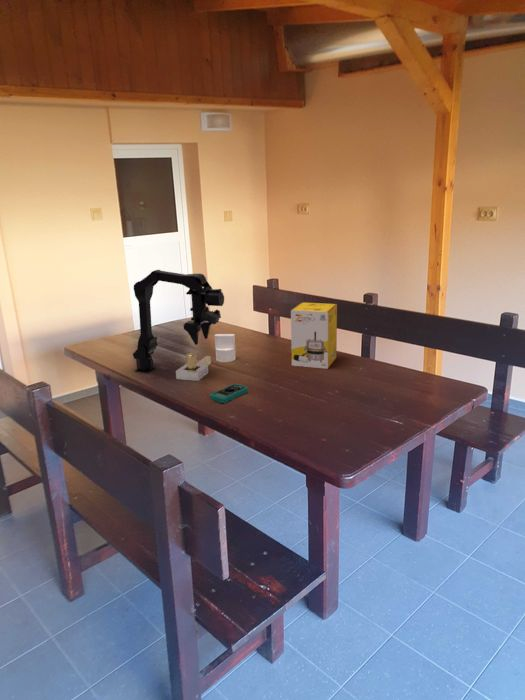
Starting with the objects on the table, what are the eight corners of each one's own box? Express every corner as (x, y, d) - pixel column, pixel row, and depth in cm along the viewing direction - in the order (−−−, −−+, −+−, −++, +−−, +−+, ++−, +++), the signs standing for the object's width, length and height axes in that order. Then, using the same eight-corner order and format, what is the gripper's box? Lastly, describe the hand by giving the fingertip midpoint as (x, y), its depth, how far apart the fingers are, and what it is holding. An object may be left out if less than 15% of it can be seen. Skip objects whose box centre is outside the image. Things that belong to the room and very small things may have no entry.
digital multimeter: (249, 392, 209) (249, 385, 208) (223, 405, 198) (223, 397, 197) (235, 389, 213) (234, 382, 212) (209, 401, 202) (208, 393, 201)
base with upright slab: (237, 357, 252) (235, 332, 248) (234, 363, 243) (233, 337, 240) (218, 357, 253) (216, 332, 249) (214, 363, 244) (213, 337, 241)
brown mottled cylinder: (186, 378, 226) (184, 355, 223) (190, 375, 229) (188, 352, 226) (194, 379, 224) (193, 356, 221) (199, 375, 228) (197, 353, 225)
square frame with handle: (176, 379, 224) (175, 371, 223) (198, 362, 244) (198, 355, 242) (198, 380, 220) (197, 372, 219) (219, 364, 240) (218, 356, 239)
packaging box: (291, 365, 237) (290, 310, 230) (302, 354, 252) (301, 302, 245) (327, 368, 232) (327, 312, 224) (336, 357, 246) (337, 304, 239)
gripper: (207, 310, 210) (209, 349, 214) (226, 301, 226) (227, 337, 231) (181, 309, 213) (184, 347, 218) (202, 300, 230) (204, 335, 235)
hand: (201, 341), depth 225 cm, fingers open, 9 cm apart
